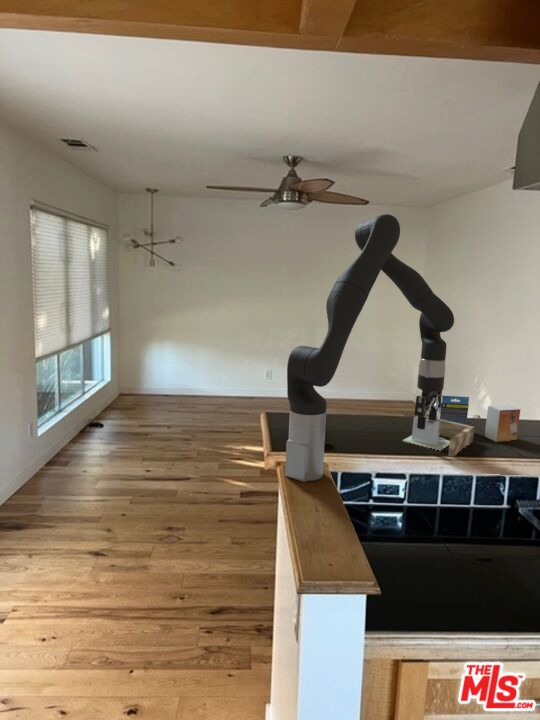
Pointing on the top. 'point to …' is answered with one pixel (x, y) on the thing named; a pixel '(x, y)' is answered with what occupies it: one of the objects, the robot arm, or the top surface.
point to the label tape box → (454, 409)
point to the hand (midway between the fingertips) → (426, 425)
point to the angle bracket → (427, 432)
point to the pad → (440, 447)
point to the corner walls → (456, 435)
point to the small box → (502, 423)
